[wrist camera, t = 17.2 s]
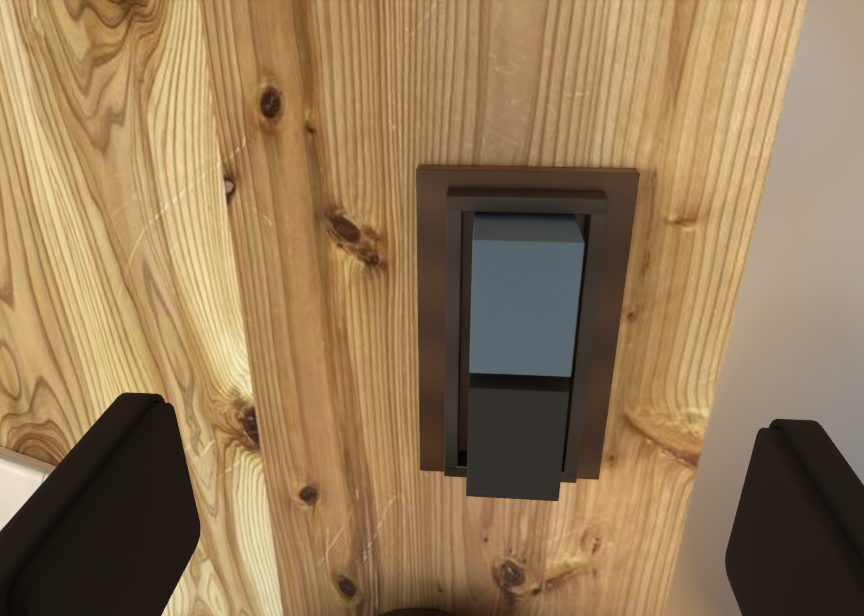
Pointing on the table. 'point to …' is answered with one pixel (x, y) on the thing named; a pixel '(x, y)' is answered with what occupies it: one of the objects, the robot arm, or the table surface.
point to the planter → (415, 613)
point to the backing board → (451, 296)
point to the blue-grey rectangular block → (524, 293)
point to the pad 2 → (516, 435)
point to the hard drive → (18, 481)
